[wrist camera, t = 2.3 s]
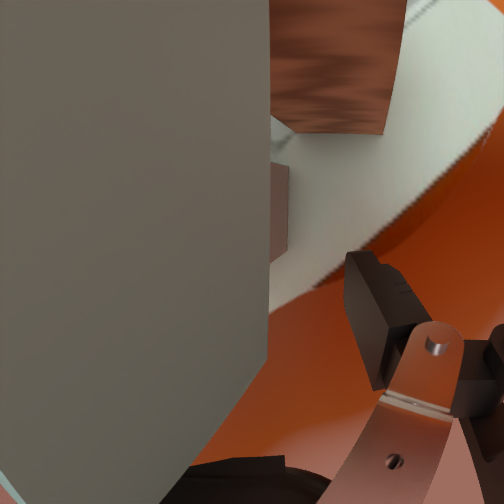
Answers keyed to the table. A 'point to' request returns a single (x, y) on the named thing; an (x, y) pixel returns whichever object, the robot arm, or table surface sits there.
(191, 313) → the block
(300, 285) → the table surface
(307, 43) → the post
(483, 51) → the table surface
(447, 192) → the table surface
